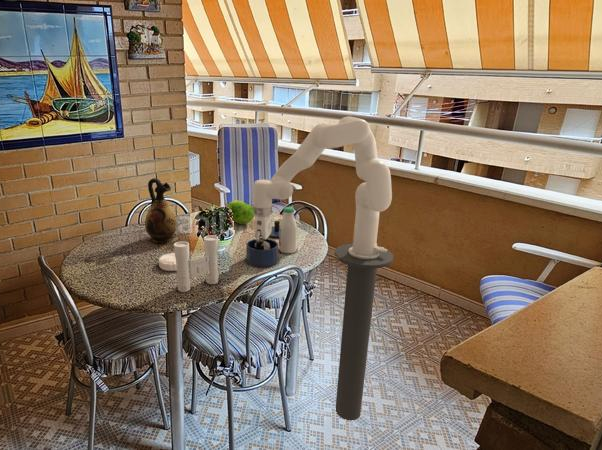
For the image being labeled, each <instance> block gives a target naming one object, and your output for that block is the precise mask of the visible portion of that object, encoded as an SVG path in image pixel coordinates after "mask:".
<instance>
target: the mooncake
mask: <svg viewBox="0 0 602 450" xmlns="http://www.w3.org/2000/svg"><path fill="white" fill-rule="evenodd" d="M158 266H159V268H160V269H161V270H163V271H167V272H177V268H176V258H175V253H174V252H170V253H165V254H163V255H161V256H160V257H159V258H158Z"/></svg>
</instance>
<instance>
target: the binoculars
mask: <svg viewBox="0 0 602 450" xmlns="http://www.w3.org/2000/svg"><path fill="white" fill-rule="evenodd" d="M203 249H204V254H205V255H204V256H201V257H197V258H191V259H190V243H189V242H188V241H186V240H185V241H184V240H181V241H177V242H174V243H173V253H175V258H176V268H177V271H176V280H177V281H176V286H177V290H178V292H181V293H186V292H189V291H190V290H191V279H193V278H198V277H202V276H204V275H205V281H206V283H207V284H208V285H215V284H218V283H219V278H220V277H219V263H218V262H219V260H218V251H219V237H218V236H217V235H214V234H210V235H205V236H204V237H203Z"/></svg>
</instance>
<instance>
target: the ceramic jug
mask: <svg viewBox="0 0 602 450" xmlns="http://www.w3.org/2000/svg"><path fill="white" fill-rule="evenodd" d="M153 184H155V185H156V187H155V188H153ZM147 187H148V192H149V197H150V199H151V200H150V201H151V202H150V207H149V209H148V211H147V213H146V216H145V220H144V227H145V231H146V233H147V234H148V236H149V237H150V238H151V240H152V239H153V240H152V242H154V243H157V244H163V243H164V244H165V243H169V242H171V240H172V238H173V236H174V235H175V233H176V231H177V228H178V221H177V217H176V214H175V212H174V210H173V208H172V207H171V205H170V204H169V203H168V201H167V200H166V198H165V196H164V194H165V193H167V192H169V191H171V190H172V187H171V186H170V184H169V183H168V182H165V183H162V182H161V180H160V179H158V178H156V177H154V178H150V179H149V180H148V182H147ZM155 193H156V194H155Z"/></svg>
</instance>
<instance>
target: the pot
mask: <svg viewBox="0 0 602 450" xmlns="http://www.w3.org/2000/svg"><path fill="white" fill-rule="evenodd" d="M268 239H269V244H270V245H269V246H270V249H268V250H257V249H256V247H255V243H256V238H254V239H250V240H248V241H247V242H246V244H245V245H246V247H245V248H246V249H245V252H246V253H245V255H246V256H245V257H246V263H247V264H248V265H250V266H253V267H257V268H269V267H273V266H275V265H277V264H278V261H279V242H278V241H275V240H273V239H270V238H268Z"/></svg>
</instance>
